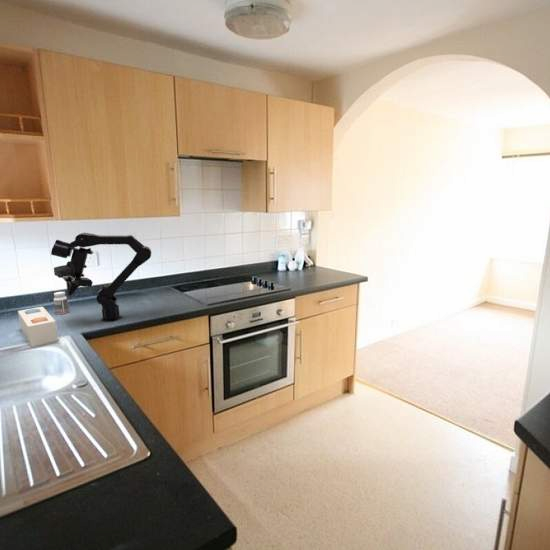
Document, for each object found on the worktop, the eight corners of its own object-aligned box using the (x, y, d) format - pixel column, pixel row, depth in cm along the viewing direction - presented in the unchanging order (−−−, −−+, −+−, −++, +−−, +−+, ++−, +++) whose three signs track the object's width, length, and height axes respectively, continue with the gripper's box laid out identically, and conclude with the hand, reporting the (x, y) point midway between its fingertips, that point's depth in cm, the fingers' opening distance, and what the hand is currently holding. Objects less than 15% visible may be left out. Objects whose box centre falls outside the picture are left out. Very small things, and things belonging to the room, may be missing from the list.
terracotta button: (49, 323, 145) (48, 317, 145) (40, 327, 141) (39, 321, 140) (40, 322, 146) (39, 316, 146) (30, 326, 142) (29, 320, 141)
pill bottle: (66, 310, 183) (63, 290, 181) (71, 312, 179) (68, 292, 177) (53, 313, 178) (50, 293, 176) (58, 315, 175) (55, 294, 173)
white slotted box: (20, 329, 157) (17, 310, 155) (45, 324, 163) (42, 306, 161) (31, 347, 138) (27, 326, 136) (58, 340, 144) (55, 321, 142)
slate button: (42, 314, 156) (41, 309, 156) (33, 317, 152) (32, 312, 151) (33, 314, 157) (32, 308, 157) (24, 317, 153) (23, 311, 152)
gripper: (47, 253, 157) (38, 287, 159) (72, 266, 148) (62, 302, 150) (72, 255, 167) (64, 288, 169) (97, 268, 158) (88, 302, 160)
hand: (69, 295), depth 161 cm, fingers closed
